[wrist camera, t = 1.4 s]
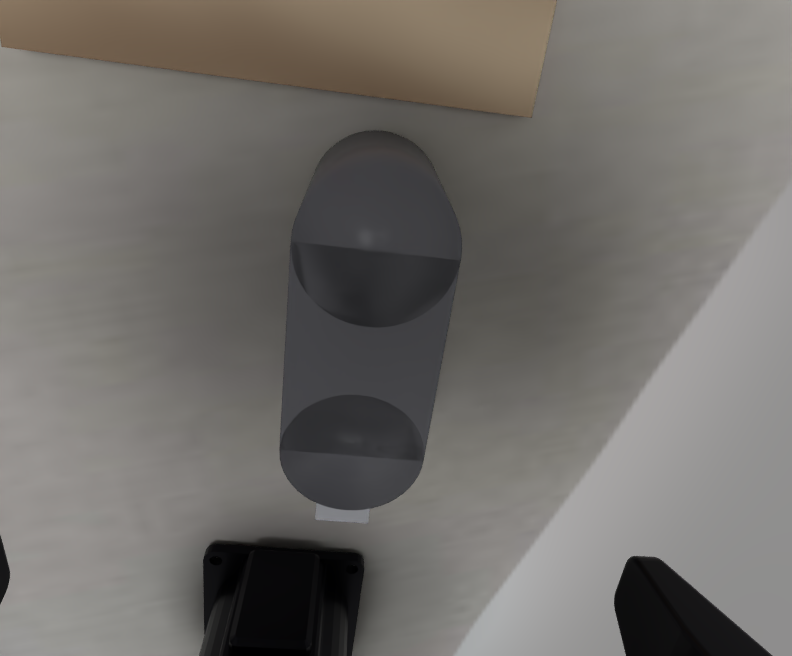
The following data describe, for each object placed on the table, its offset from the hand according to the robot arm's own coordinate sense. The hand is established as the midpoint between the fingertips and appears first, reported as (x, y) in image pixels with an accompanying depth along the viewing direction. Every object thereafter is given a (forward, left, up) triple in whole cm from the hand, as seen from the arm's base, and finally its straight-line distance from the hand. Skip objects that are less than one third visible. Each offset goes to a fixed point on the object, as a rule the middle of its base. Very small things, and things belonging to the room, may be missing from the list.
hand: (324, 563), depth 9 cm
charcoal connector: (-2, 0, -12) cm, 12 cm away
